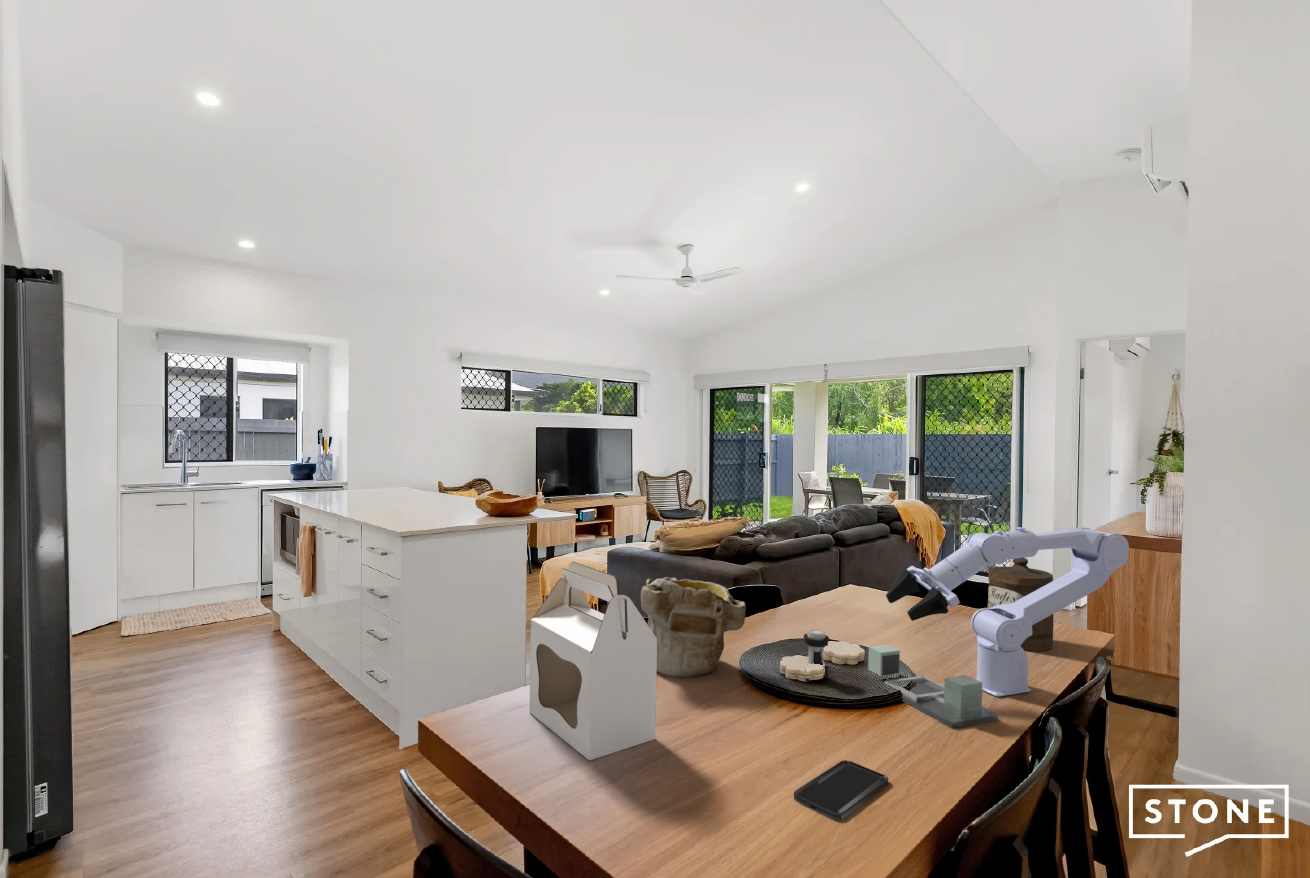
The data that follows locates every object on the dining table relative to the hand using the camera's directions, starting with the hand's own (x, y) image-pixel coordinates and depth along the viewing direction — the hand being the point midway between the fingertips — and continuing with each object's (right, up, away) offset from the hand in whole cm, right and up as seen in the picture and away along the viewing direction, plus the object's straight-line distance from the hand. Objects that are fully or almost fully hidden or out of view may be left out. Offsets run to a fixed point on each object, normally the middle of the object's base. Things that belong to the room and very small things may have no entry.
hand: (898, 607), depth 135 cm
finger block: (0, -17, +9) cm, 19 cm away
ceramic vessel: (-42, -16, +11) cm, 46 cm away
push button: (-16, -17, +6) cm, 24 cm away
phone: (-23, -18, -38) cm, 48 cm away
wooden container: (+44, -18, +34) cm, 58 cm away
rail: (+5, -17, -6) cm, 19 cm away
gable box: (-62, -16, -18) cm, 66 cm away
